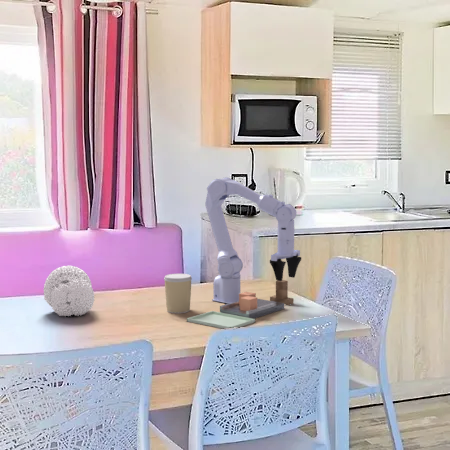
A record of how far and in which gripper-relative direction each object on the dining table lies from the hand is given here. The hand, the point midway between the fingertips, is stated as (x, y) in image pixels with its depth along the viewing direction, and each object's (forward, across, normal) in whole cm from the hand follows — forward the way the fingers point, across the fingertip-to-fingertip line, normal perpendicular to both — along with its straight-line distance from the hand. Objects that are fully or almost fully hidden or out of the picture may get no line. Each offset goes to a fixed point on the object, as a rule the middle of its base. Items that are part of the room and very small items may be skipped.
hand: (285, 278), depth 259 cm
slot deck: (+10, -14, +3) cm, 17 cm away
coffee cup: (+10, -28, +24) cm, 39 cm away
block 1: (+8, -14, +6) cm, 17 cm away
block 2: (+8, -19, +1) cm, 21 cm away
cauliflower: (+10, -53, +50) cm, 73 cm away
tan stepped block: (+10, +3, +4) cm, 11 cm away
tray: (+10, -31, +3) cm, 33 cm away
